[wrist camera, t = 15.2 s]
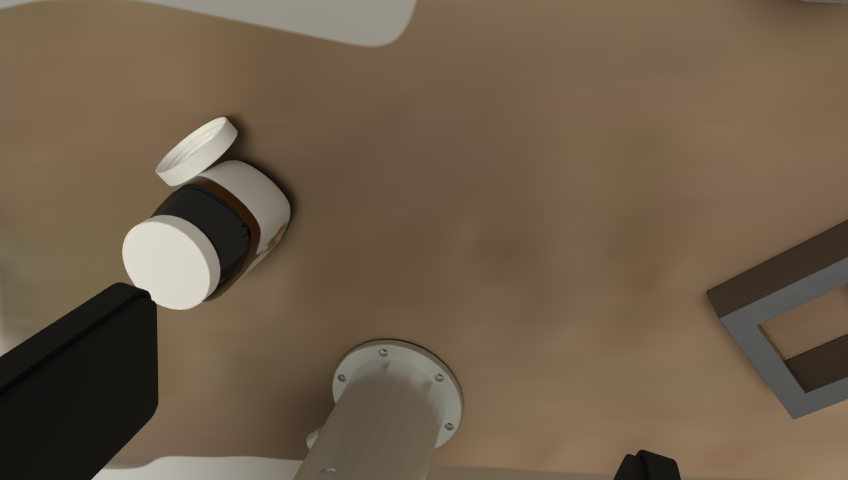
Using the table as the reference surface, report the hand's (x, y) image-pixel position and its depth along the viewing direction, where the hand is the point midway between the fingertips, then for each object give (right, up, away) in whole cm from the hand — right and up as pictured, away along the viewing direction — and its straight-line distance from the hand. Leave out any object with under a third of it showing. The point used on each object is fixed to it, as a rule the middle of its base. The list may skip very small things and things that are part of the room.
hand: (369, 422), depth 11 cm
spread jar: (-15, +8, +38) cm, 42 cm away
